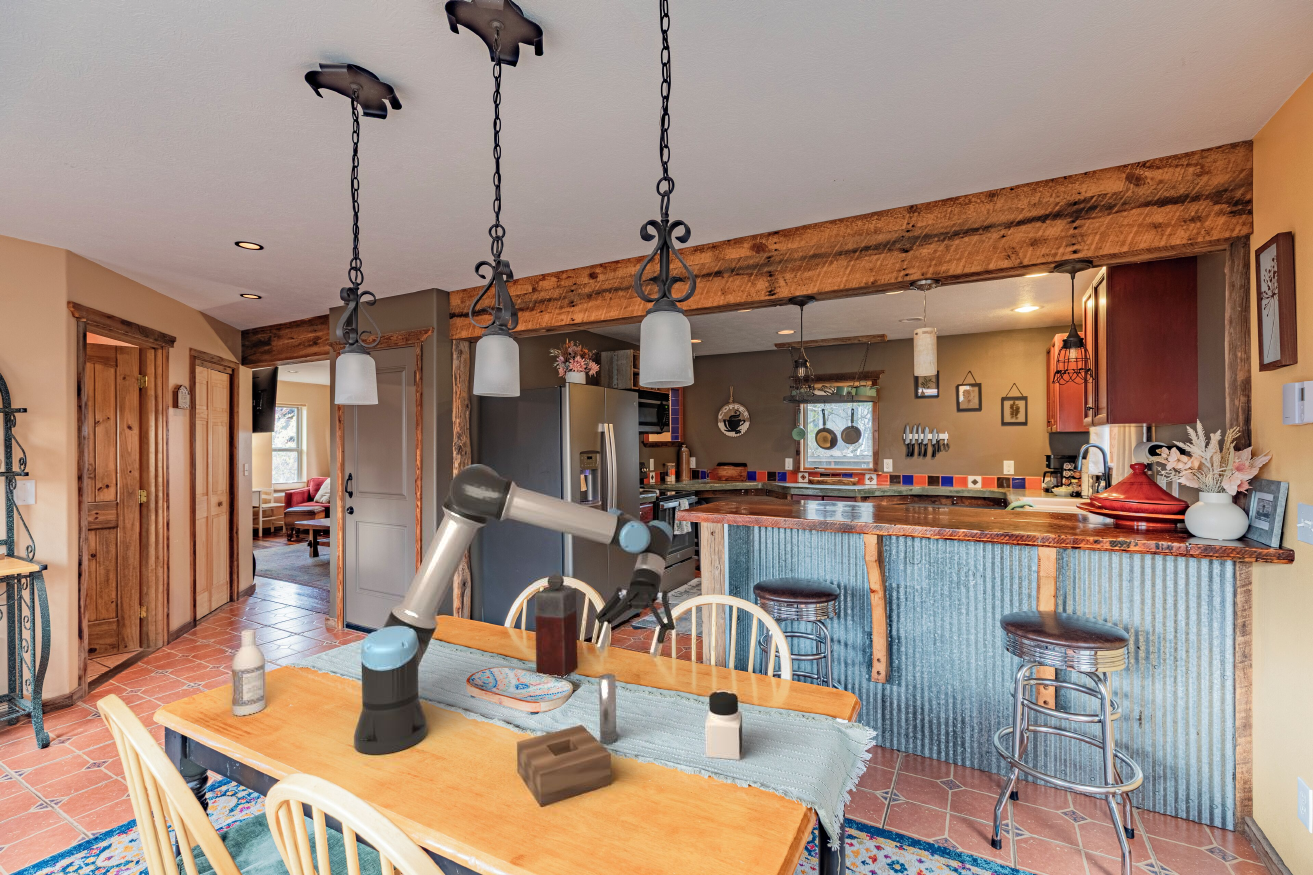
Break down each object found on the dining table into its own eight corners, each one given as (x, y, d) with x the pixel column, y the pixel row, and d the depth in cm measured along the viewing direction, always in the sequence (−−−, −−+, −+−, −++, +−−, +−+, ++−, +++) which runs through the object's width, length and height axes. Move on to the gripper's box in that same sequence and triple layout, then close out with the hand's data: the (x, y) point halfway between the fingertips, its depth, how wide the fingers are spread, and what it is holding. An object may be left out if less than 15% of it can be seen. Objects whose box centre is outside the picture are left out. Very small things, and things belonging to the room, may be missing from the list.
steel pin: (597, 739, 136) (596, 675, 136) (612, 735, 138) (611, 672, 138) (604, 746, 133) (603, 681, 133) (619, 741, 135) (618, 677, 135)
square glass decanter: (581, 664, 182) (579, 569, 182) (564, 678, 172) (562, 577, 172) (554, 661, 185) (552, 568, 185) (535, 675, 174) (534, 576, 174)
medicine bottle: (740, 760, 126) (739, 702, 126) (705, 758, 127) (704, 699, 127) (742, 744, 133) (741, 688, 133) (709, 741, 134) (708, 686, 134)
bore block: (517, 771, 123) (516, 741, 123) (582, 753, 130) (581, 724, 130) (540, 807, 111) (540, 773, 111) (611, 784, 118) (610, 753, 118)
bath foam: (236, 707, 156) (235, 628, 156) (268, 702, 159) (266, 625, 159) (229, 719, 150) (228, 636, 150) (262, 713, 153) (261, 632, 153)
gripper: (697, 586, 158) (680, 665, 144) (608, 580, 166) (584, 654, 152) (690, 569, 153) (672, 649, 139) (599, 564, 161) (573, 639, 147)
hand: (626, 652), depth 145 cm, fingers open, 13 cm apart
